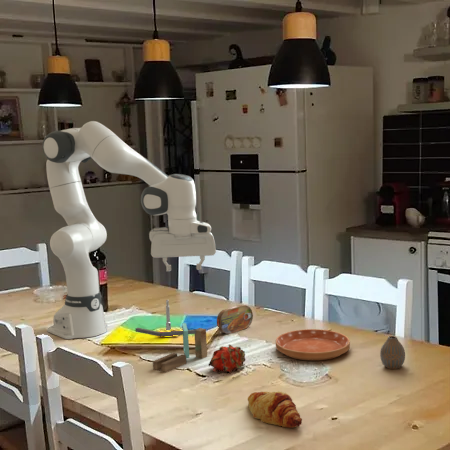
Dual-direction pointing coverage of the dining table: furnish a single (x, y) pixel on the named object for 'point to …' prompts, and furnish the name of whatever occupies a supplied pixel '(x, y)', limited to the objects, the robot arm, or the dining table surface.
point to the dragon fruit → (227, 359)
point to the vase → (392, 353)
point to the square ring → (185, 340)
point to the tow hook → (168, 316)
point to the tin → (234, 319)
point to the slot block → (169, 362)
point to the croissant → (274, 409)
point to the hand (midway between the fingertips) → (183, 270)
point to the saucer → (313, 344)
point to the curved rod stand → (199, 334)
